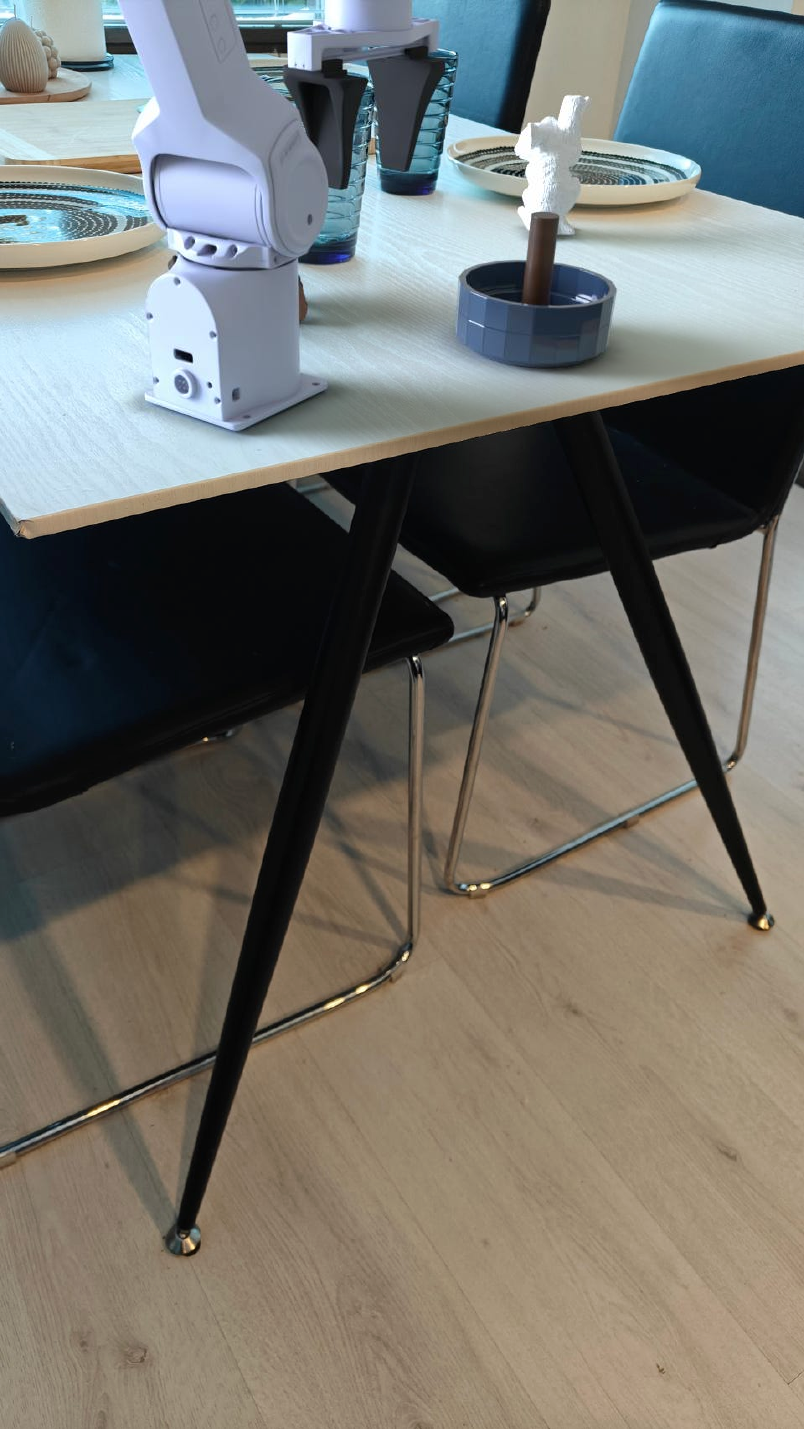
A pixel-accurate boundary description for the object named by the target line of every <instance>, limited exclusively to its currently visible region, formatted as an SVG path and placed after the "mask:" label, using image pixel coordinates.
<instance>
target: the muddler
mask: <svg viewBox="0 0 804 1429" xmlns="http://www.w3.org/2000/svg"><path fill="white" fill-rule="evenodd" d="M558 226H559V215H558V214H555V213H552V212H534V213H532V214H531V220H530V230H528V238H527V239H528V240H527V248H526V258H525V260H526V267H525V276H524V286H523V295H522V302H519V303H523V304H531V305H547V306H552V305H549V299H550V291H551V283H552V275H553V267H554V262H555V256H556V250H557V241H558V235H557V234H558Z"/></svg>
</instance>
